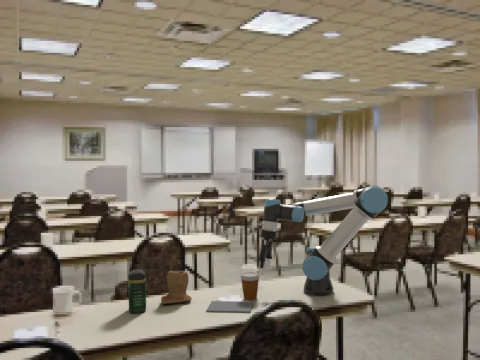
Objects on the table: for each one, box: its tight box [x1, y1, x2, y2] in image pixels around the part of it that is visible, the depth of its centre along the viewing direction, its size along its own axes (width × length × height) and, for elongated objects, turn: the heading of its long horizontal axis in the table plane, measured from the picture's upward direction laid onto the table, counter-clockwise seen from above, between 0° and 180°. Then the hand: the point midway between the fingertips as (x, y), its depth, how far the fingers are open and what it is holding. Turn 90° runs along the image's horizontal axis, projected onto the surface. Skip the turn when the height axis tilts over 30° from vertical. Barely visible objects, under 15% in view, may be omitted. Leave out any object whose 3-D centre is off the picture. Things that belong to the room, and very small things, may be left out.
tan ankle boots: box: [160, 270, 192, 305], centre depth 211 cm, size 15×12×15 cm
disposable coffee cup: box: [239, 271, 261, 301], centre depth 214 cm, size 10×10×12 cm
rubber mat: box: [205, 300, 254, 314], centre depth 201 cm, size 20×14×1 cm
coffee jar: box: [127, 268, 147, 314], centre depth 199 cm, size 10×8×19 cm
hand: (263, 273), depth 212 cm, fingers open, 13 cm apart
